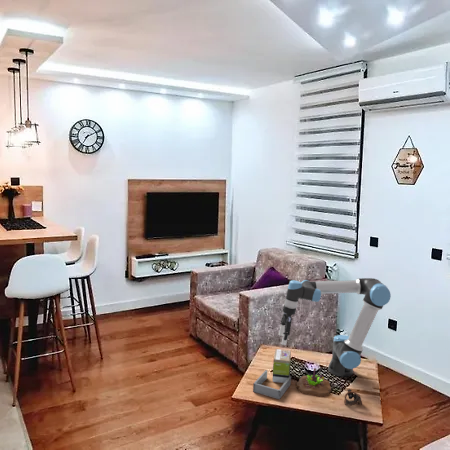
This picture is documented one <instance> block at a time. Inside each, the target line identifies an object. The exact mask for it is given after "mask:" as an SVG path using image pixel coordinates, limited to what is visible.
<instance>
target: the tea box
mask: <svg viewBox="0 0 450 450" xmlns="http://www.w3.org/2000/svg"><path fill="white" fill-rule="evenodd" d="M291 352H292V351H291V350H289V349H277V348H275V349H274V354H273V363H272V364H273V365H272V382H273V383H279V384H280V383H282V384H284V383H285V381H286V380H287V379H288V378H289V376H290V377H291V375H290V374H291V363H292V362H291V360H292V359H291V358H292V355H291Z"/></svg>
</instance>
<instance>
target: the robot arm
mask: <svg viewBox="0 0 450 450" xmlns="http://www.w3.org/2000/svg"><path fill="white" fill-rule="evenodd" d="M353 293H355V294H357V295H364V296H363V299H362V301H363V306H362V308H361V310H360V313H359V315H358V316H357V319H356V321H355V322H354V326H353V327H352V329H351V331H350V334H349V335H345V334H343V335H342V334H337V335H335V336H334V337H333V343H332V356H331V360H330V362H329V363H328V367H327V368H328V372H329V373H331V374H332V375H334V376H337V377H342V378H343V377H345V378H348V377H350V376H352V375H354V374H353V373H354V369H355V368H358V367H359V366H360V365H361V361H362V358H361V357H362V356H361V355H362V353H363V351H364V349H363V344H364V342H365V341H366V338H367V335H368V334H369V331H370V329H371V327H372V325H373V322H374V320H375V318H376V316H377V315H378V314H377V313H378V311H380V310H383V308H384V307H385V305H387V304H388V303H389V302H390V300H391V291H390V289H389V288H388V286H387V285H385V284H384V283H382V282H381V281H380V280H379V279H376V278H372V277H370V278H369V277H366V278H365V277H364V278H363V277H362V278H359V277H358V278H356V279H354V280H326V281H325V280H324V281H322V280H321V281H318V280H317V281H311V280H308V279H304V280H302V281H299V280H294V279H292V280H289V283H288V286H287V291H286V295H285V299H283V302H284V303H283V307H282V312H283V314H282V317H281V320H280V327H279V331H278V336H281V337H282V339H281V342H280V343H281V345H282V346H283V345H284V346H286V345H287V342H288V338H289V336H290V335H291V334H290V333H291V328H292V320H293V318H292V316H293V315H295V314H296V313H297V312H296V311H297V308H298V303H299V300H305V301H310V302H314V303H317V302H320V300H321V297H322V294H323V295H324V294H353Z"/></svg>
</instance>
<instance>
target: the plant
mask: <svg viewBox="0 0 450 450" xmlns="http://www.w3.org/2000/svg"><path fill="white" fill-rule="evenodd" d="M316 371H317V368H316V367H314V368H313V374H311V375H308V374H306V375H302V376H301V377H300V378H299V380H298V381H297V382H296V385H295V386H296V389H297V390H298V392H299V393H301V394H303V395H311V396H317V397H328V396H329V394H330V393H331V392H332V388H331V383H330V381H329V380H327V379H325V377H324V375H321V374H316Z"/></svg>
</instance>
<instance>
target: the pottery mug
mask: <svg viewBox="0 0 450 450" xmlns="http://www.w3.org/2000/svg"><path fill="white" fill-rule="evenodd" d="M347 398H348V399H347ZM352 399H353V400H352ZM343 402H344V405H347V406H351V407H353V406H356V405H359V403H360V405H363V400H362V397H361V395H360V394H359V393H357V392H356V391H353V390H352V389H351V388H348V389H347V392H345V395H344V401H343Z"/></svg>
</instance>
